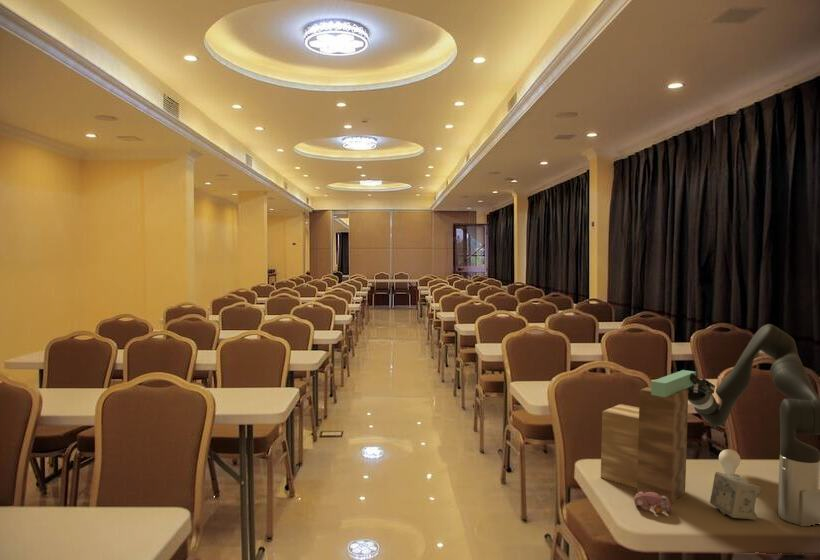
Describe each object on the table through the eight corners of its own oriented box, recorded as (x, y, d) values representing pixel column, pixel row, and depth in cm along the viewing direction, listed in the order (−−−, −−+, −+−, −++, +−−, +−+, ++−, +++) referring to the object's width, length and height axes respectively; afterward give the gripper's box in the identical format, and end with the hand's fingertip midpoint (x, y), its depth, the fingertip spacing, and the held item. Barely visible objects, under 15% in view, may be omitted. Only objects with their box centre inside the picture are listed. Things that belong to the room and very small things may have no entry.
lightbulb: (734, 480, 190) (735, 447, 189) (743, 487, 184) (744, 453, 183) (714, 479, 190) (715, 446, 190) (722, 486, 184) (724, 452, 184)
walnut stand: (652, 483, 186) (655, 384, 185) (685, 492, 179) (688, 389, 178) (636, 494, 177) (639, 389, 176) (670, 504, 170) (673, 395, 169)
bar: (682, 382, 188) (683, 370, 188) (695, 384, 186) (696, 371, 185) (651, 394, 170) (651, 381, 169) (665, 397, 167) (665, 383, 167)
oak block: (619, 467, 200) (620, 403, 200) (654, 476, 192) (656, 410, 191) (600, 477, 190) (602, 411, 189) (637, 488, 182) (638, 418, 181)
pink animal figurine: (633, 513, 167) (632, 496, 164) (635, 501, 171) (634, 484, 168) (671, 521, 163) (671, 503, 160) (672, 508, 166) (672, 490, 163)
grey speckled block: (760, 520, 160) (761, 483, 160) (733, 522, 159) (734, 484, 159) (734, 505, 170) (736, 470, 170) (709, 507, 169) (710, 471, 168)
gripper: (678, 380, 200) (663, 360, 189) (723, 387, 190) (710, 366, 179) (674, 401, 198) (658, 382, 187) (719, 409, 188) (705, 389, 177)
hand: (683, 375), depth 183 cm, fingers closed on bar, 4 cm apart
